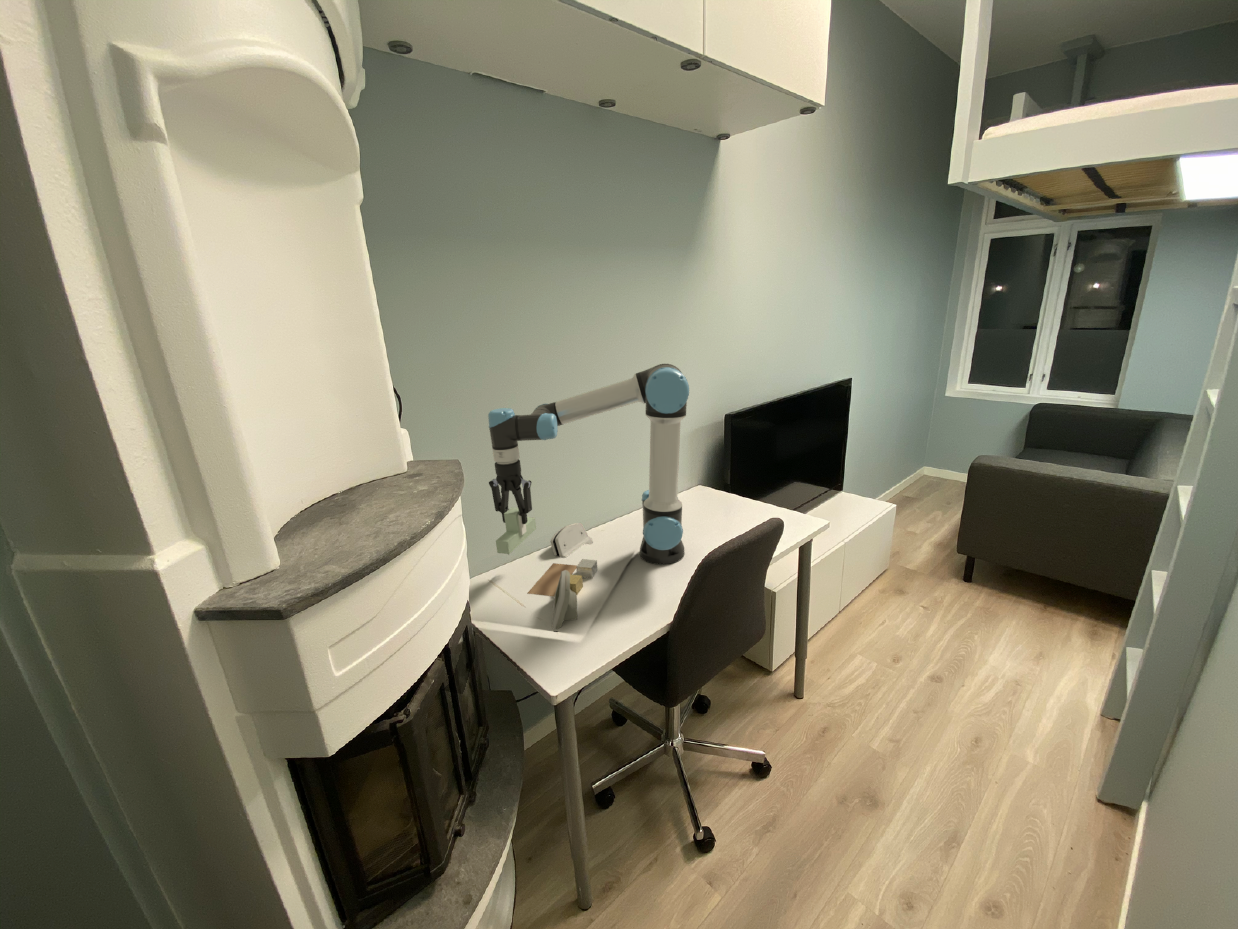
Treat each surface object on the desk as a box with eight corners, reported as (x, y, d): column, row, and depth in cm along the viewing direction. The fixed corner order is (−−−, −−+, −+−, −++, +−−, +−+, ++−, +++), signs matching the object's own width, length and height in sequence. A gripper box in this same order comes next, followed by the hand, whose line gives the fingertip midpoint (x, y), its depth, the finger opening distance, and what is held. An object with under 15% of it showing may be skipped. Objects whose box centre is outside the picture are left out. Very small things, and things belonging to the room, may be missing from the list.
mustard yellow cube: (583, 590, 157) (582, 575, 156) (577, 599, 153) (575, 584, 151) (568, 588, 159) (566, 574, 157) (561, 597, 154) (560, 582, 153)
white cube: (598, 574, 166) (596, 560, 164) (592, 582, 161) (591, 568, 160) (583, 572, 167) (582, 559, 166) (577, 580, 163) (576, 566, 161)
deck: (578, 569, 170) (578, 565, 170) (555, 601, 153) (554, 596, 152) (553, 567, 173) (553, 563, 172) (527, 597, 156) (527, 593, 155)
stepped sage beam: (536, 528, 170) (532, 500, 167) (509, 554, 153) (504, 523, 150) (525, 527, 171) (521, 499, 168) (497, 553, 155) (492, 522, 152)
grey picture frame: (555, 600, 153) (551, 568, 150) (585, 600, 152) (582, 568, 149) (540, 634, 138) (536, 599, 135) (574, 634, 137) (570, 599, 134)
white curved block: (567, 562, 176) (556, 535, 175) (556, 564, 178) (546, 537, 177) (593, 542, 189) (583, 516, 188) (584, 544, 192) (574, 519, 191)
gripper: (475, 463, 154) (486, 535, 160) (527, 465, 148) (536, 539, 155) (488, 456, 160) (498, 525, 167) (538, 457, 155) (546, 529, 162)
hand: (516, 532), depth 161 cm, fingers closed on stepped sage beam, 4 cm apart
